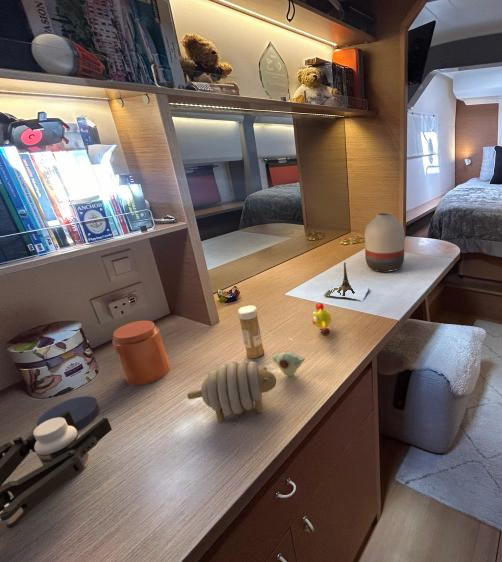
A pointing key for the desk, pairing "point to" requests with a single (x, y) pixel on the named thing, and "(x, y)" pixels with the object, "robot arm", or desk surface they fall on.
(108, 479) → the desk surface
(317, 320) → the toy figure
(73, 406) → the jar lid
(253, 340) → the sprinkles bottle
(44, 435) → the pill bottle
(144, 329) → the jar
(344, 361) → the desk surface
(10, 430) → the desk surface
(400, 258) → the vase
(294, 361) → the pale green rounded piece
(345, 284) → the eiffel tower figurine
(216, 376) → the toy sheep
